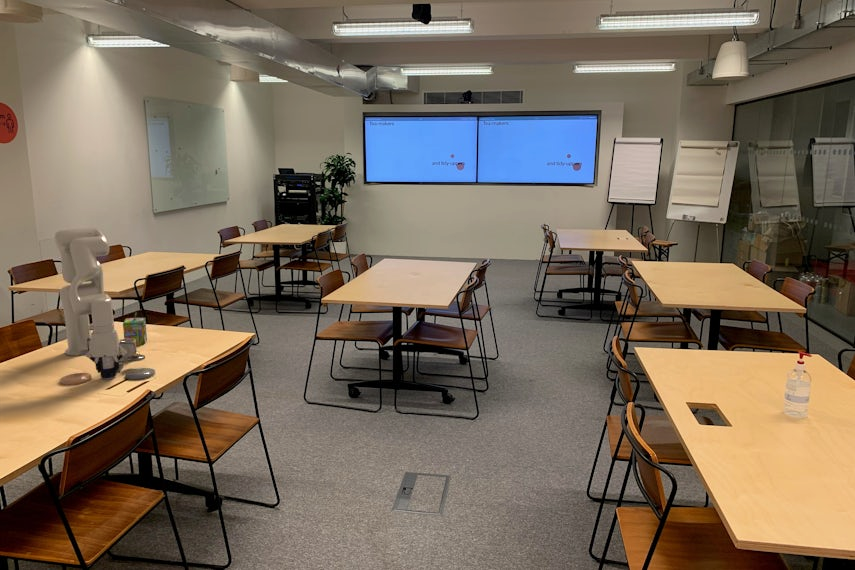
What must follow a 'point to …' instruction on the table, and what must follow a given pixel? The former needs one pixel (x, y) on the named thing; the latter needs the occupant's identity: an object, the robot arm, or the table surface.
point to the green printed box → (135, 329)
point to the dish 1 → (75, 379)
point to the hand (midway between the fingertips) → (108, 370)
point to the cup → (127, 349)
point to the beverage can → (107, 367)
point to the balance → (133, 358)
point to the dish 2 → (140, 373)
